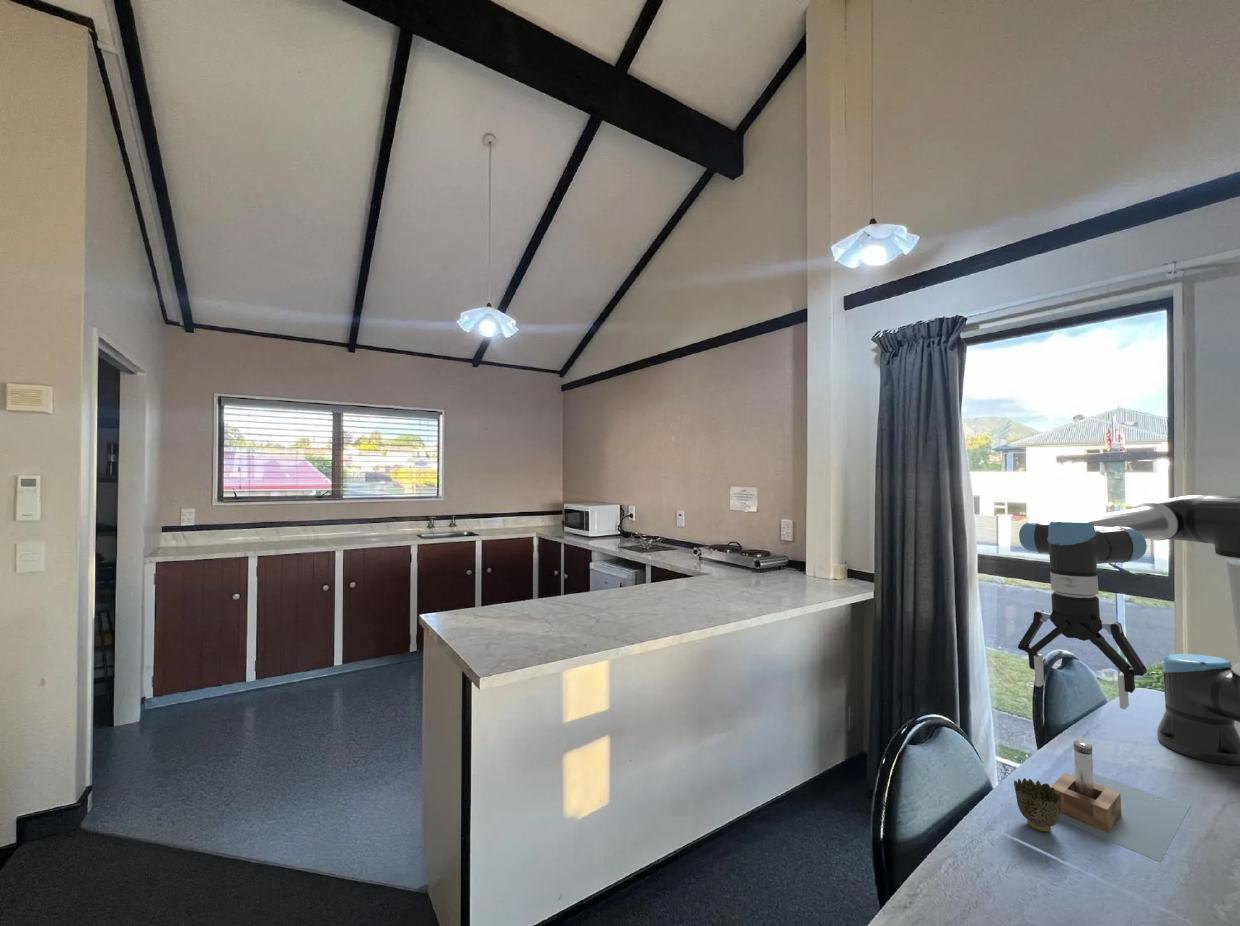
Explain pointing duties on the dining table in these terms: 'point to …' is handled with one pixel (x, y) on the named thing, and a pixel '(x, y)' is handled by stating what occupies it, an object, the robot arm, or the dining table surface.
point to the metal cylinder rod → (1084, 768)
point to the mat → (1139, 820)
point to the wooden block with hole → (1089, 804)
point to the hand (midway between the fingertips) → (1079, 695)
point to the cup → (1038, 804)
